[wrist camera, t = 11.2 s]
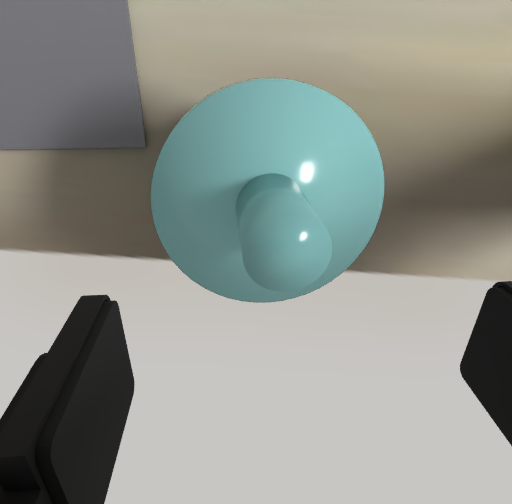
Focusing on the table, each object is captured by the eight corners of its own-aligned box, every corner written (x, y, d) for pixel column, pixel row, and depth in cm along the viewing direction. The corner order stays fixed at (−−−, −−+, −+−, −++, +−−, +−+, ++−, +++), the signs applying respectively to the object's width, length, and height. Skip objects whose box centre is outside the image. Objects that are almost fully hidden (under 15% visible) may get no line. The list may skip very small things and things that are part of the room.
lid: (394, 78, 18) (473, 90, 12) (358, 286, 24) (402, 356, 18) (138, 76, 17) (104, 90, 11) (166, 295, 23) (152, 373, 17)
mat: (116, -84, 20) (114, -86, 19) (146, 145, 26) (145, 147, 25) (-132, -94, 19) (-139, -97, 18) (-42, 149, 24) (-46, 150, 24)
